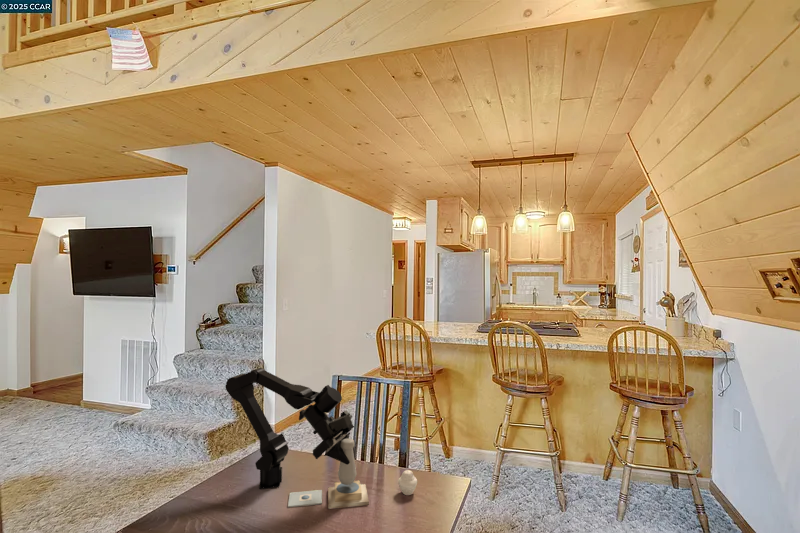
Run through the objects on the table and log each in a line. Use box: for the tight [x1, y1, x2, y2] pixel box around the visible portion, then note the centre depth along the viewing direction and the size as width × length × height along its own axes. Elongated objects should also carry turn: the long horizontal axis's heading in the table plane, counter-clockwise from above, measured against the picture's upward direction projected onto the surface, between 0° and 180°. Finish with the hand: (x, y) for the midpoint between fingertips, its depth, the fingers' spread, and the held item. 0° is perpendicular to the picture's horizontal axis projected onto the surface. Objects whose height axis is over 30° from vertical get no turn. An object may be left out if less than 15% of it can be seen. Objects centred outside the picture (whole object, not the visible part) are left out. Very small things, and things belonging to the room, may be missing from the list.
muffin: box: [397, 469, 418, 496], centre depth 134 cm, size 6×6×7 cm
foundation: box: [327, 480, 370, 510], centre depth 131 cm, size 12×11×3 cm
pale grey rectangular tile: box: [287, 489, 323, 508], centre depth 130 cm, size 10×8×1 cm
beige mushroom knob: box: [337, 437, 357, 485], centre depth 131 cm, size 6×6×13 cm
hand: (351, 461), depth 131 cm, fingers closed on beige mushroom knob, 3 cm apart
